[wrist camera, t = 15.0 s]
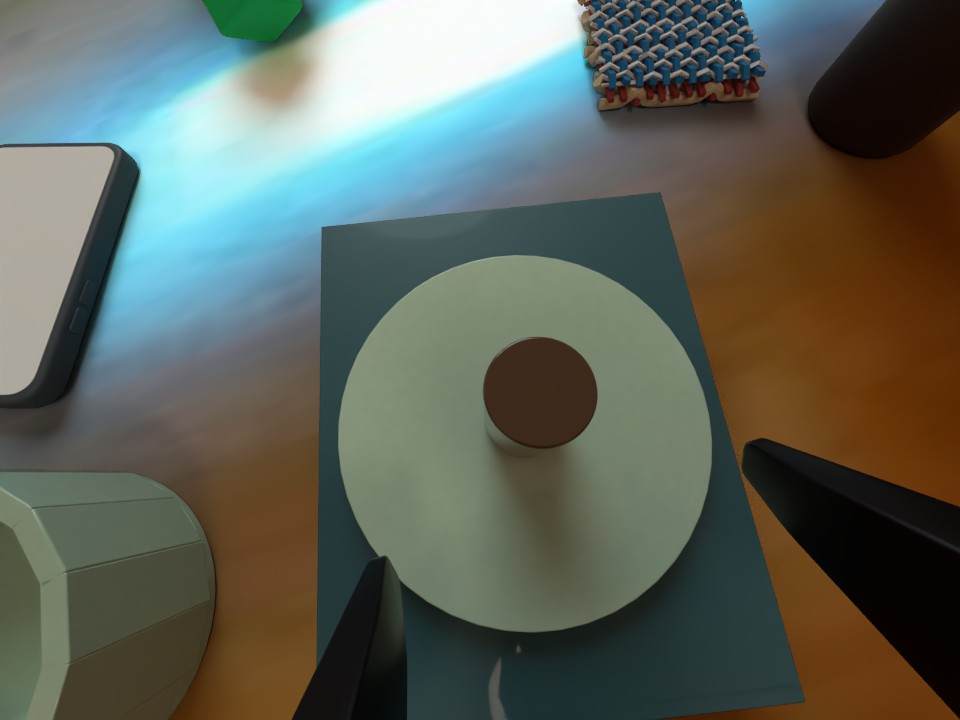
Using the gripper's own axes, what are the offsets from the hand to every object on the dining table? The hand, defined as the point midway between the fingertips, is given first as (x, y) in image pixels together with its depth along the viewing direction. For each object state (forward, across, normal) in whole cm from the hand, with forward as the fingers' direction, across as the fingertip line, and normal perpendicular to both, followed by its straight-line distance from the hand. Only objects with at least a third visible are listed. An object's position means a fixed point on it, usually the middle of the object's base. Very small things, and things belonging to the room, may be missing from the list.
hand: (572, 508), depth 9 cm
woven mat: (+24, -17, -10) cm, 31 cm away
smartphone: (+20, +23, -7) cm, 32 cm away
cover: (+6, 0, +1) cm, 6 cm away
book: (+9, 0, +5) cm, 10 cm away
